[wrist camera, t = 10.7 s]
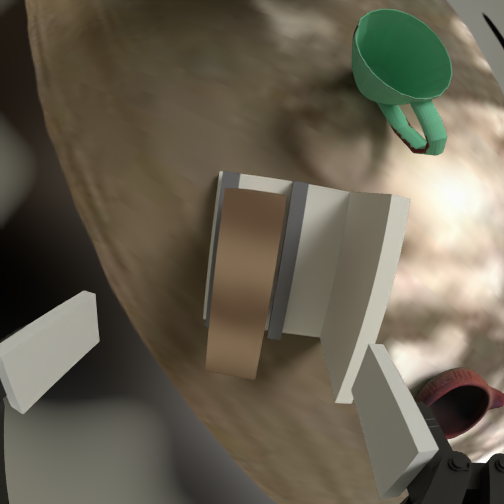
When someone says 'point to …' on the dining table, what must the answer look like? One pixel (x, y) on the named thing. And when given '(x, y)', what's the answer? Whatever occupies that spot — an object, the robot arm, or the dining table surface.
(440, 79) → the mug
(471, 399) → the bowl
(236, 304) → the door slab
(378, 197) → the track sill
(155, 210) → the dining table surface
